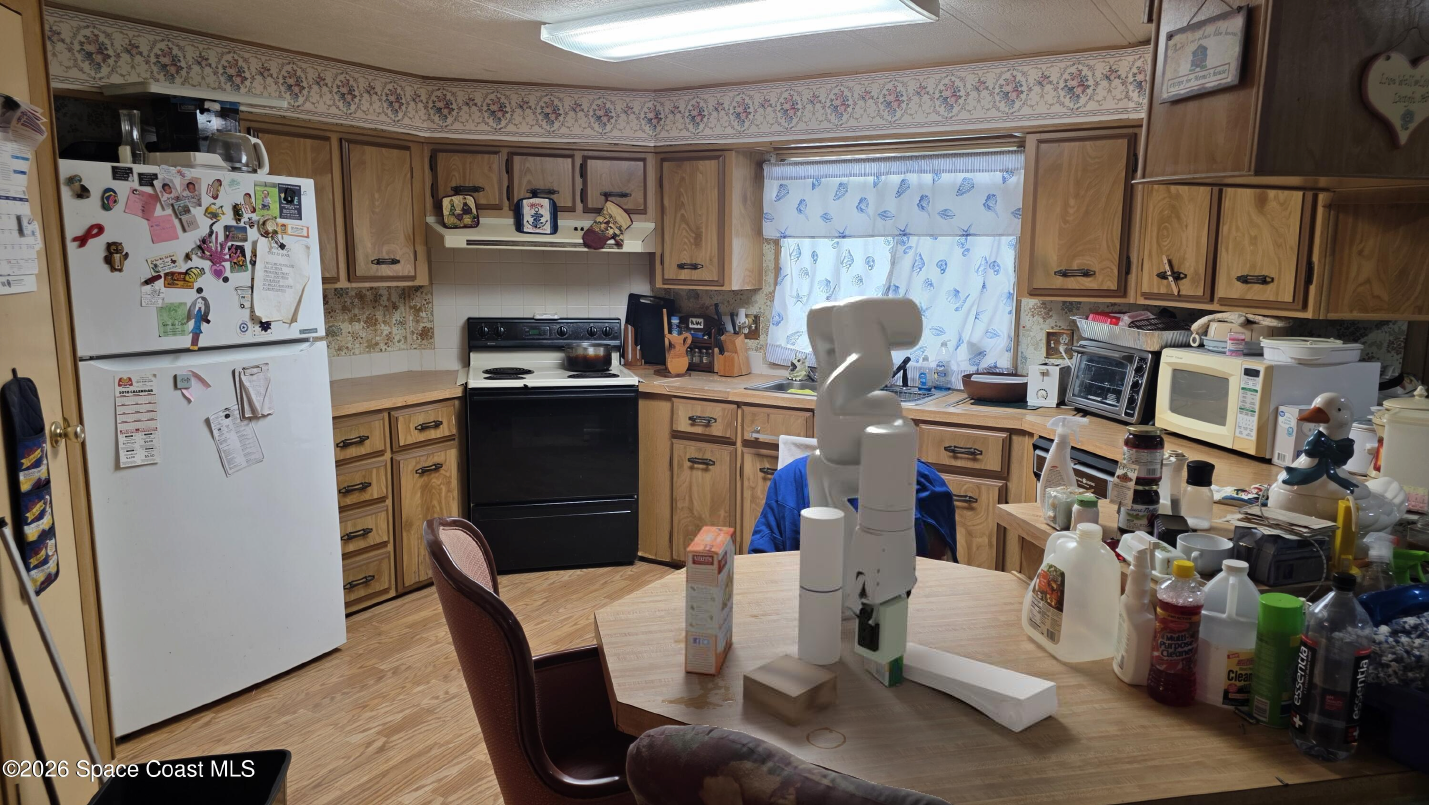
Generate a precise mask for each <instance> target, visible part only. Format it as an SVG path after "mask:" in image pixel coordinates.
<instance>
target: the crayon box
mask: <svg viewBox="0 0 1429 805" xmlns="http://www.w3.org/2000/svg"><path fill="white" fill-rule="evenodd" d="M903 660H904V654H903V655H901V656H899V657H897V658H895V659H893V660H891V661H889V662H887V663H885V664H882V663H880V662H877V661H875V660H873V659H870V658H868V657H866V656H864V669H865V670H867V671H868V672H870V674H872V675H873V676H874V677H875V678H876V679H878V680H879V681H880V682H881V683H882V684H883V685H884V686H885V687H887V688H888V687H893V686H898V685H899V686H900V685H903V677H904V676H903Z"/></svg>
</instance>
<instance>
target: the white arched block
mask: <svg viewBox="0 0 1429 805" xmlns="http://www.w3.org/2000/svg"><path fill="white" fill-rule="evenodd" d="M903 677H904V678H906V679H908V680H910V681H913V682H916V683H919V684H921V685H925V686H927V687H930V688H934V689H936V690H939V691H942V692H944V693H946V694H949V695H952V696H953V697H955V698H958V699H960V700H961V701H963V702H965V703H967V704H969V705H970V706H973V707H974V708H976V709H977V710H979V711H980V712H982V713H984V714H985V715H987V716H988V717H989V718H990V719H992V720H994V721H995V722H996V723H998V724H1000V725H1002V726H1004V727H1006V728H1007V729H1009V730H1012V731H1014V732H1016V733H1019V732H1021V731H1022V730H1024V729H1026V728H1029V727H1030V726H1032V725H1034V724H1036V723H1038V722H1040V721H1041V720H1044V719H1045V718H1047V717H1049V716H1051V715H1053V714H1054V713H1055V712H1056V711H1057V709H1058V707H1059V700H1058V697H1057V693H1056V690H1057V689H1058V688H1057V682H1053V681H1049V680H1045V679H1042V678H1040V677H1039V678H1038V677H1035V676H1032V675H1028V674H1023V673H1021V672H1017V671H1013V670H1010V669H1007V668H1004V667H999V666H997V665H992V664H989V663H985V662H982V661H978V660H975V659H970V658H968V657H965V656H961V655H957V654H953V653H950V652H945V651H942V650H939V649H936V648H932V647H928V646H924V645H921V644H919V643H918V644H917V643H914V642H906V653H905V654H904V660H903Z"/></svg>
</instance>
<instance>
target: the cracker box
mask: <svg viewBox="0 0 1429 805" xmlns="http://www.w3.org/2000/svg"><path fill="white" fill-rule="evenodd" d="M735 540H736V529H735V528H732V527H727V526H726V527H725V526H708V525H706V526H703V527H702V528H701V530H700V531H699V533H698V534H697V536H695V538H694V540H693V541H692V542H691V544H690V545H689V546H688V547H687V549H686V550H685V552H686V554H685V555H686V556H685V558H686V559H685V610H684V611H685V620H684V622H685V623H684V625H685V626H684V630H685V631H684V672H687V673H693V674H694V673H696V674H704V675H715V676H718V674H719V671H720V670H721V667H722V664H723V662H724V660H725V658H726V655H727V653H728V651H729V649H730V647H731V644H732V643H733V622H734V621H733V620H734V589H735V588H734V585H735V584H734V582H735V581H734V580H735V574H734V573H735V551H736V550H735V549H736V548H735V546H736V545H735V544H736V543H735Z"/></svg>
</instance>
